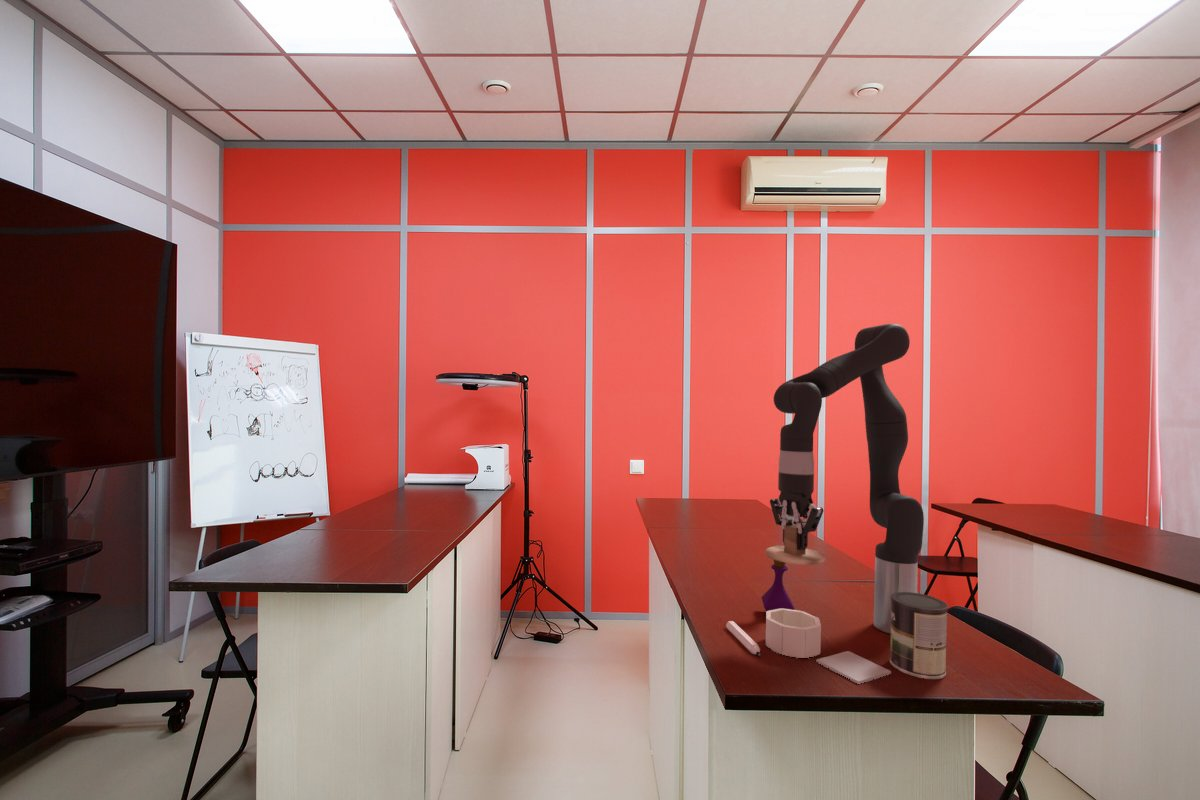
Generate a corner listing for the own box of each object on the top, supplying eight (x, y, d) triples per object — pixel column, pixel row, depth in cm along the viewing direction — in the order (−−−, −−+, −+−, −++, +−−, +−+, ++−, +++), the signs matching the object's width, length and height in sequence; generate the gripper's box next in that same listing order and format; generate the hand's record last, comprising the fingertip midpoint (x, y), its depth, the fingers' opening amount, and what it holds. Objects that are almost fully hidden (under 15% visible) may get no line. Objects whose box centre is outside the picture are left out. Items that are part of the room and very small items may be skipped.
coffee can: (884, 668, 112) (886, 600, 112) (895, 651, 120) (896, 588, 120) (942, 685, 105) (944, 613, 106) (949, 667, 113) (951, 599, 114)
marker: (760, 664, 114) (729, 632, 130) (768, 658, 115) (736, 627, 130) (754, 653, 114) (724, 623, 130) (762, 648, 114) (731, 618, 130)
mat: (848, 653, 118) (848, 650, 118) (891, 674, 109) (891, 671, 109) (816, 662, 114) (816, 659, 114) (858, 684, 105) (858, 681, 105)
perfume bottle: (794, 623, 135) (796, 551, 135) (763, 619, 136) (765, 548, 136) (790, 612, 142) (792, 543, 142) (761, 609, 144) (762, 541, 144)
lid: (792, 547, 129) (793, 518, 129) (836, 560, 118) (837, 529, 118) (754, 552, 124) (754, 523, 124) (796, 567, 113) (797, 534, 113)
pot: (790, 633, 128) (791, 606, 129) (830, 652, 118) (831, 623, 118) (754, 641, 123) (755, 613, 123) (793, 662, 113) (794, 632, 113)
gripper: (833, 474, 117) (832, 553, 117) (784, 467, 129) (782, 539, 129) (809, 475, 113) (808, 557, 113) (760, 468, 126) (759, 542, 126)
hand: (794, 547), depth 121 cm, fingers closed on lid, 3 cm apart
